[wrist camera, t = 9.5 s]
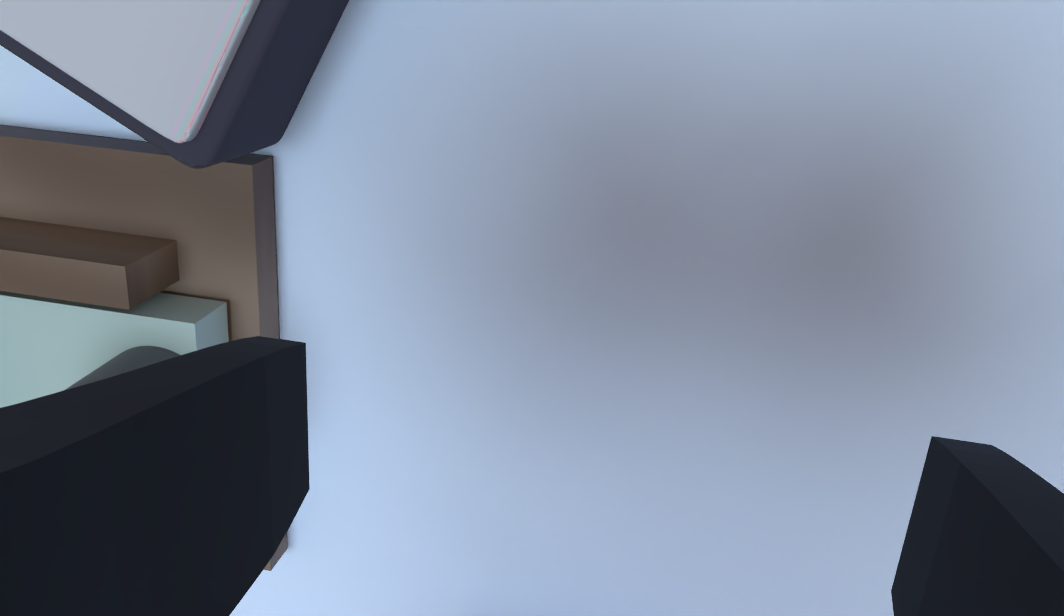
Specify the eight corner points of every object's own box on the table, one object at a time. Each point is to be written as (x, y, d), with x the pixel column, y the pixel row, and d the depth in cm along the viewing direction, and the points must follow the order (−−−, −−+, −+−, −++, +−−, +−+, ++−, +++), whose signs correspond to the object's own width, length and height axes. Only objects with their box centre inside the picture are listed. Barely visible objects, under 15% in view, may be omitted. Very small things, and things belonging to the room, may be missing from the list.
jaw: (254, 467, 23) (112, 619, 18) (-10, 421, 24) (-216, 551, 19) (246, 305, 21) (87, 419, 16) (-37, 264, 23) (-271, 358, 17)
